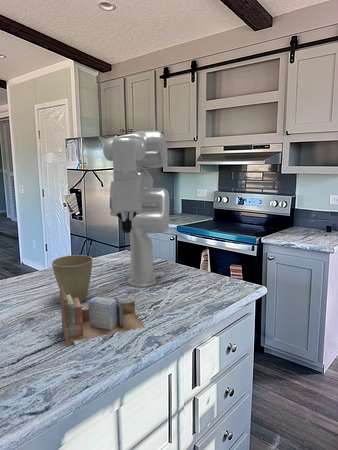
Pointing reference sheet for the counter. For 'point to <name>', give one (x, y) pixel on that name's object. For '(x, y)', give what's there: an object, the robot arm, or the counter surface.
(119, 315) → the bookend
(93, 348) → the counter surface
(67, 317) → the rack
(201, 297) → the counter surface
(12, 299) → the counter surface
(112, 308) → the medicine box
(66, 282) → the plant pot
